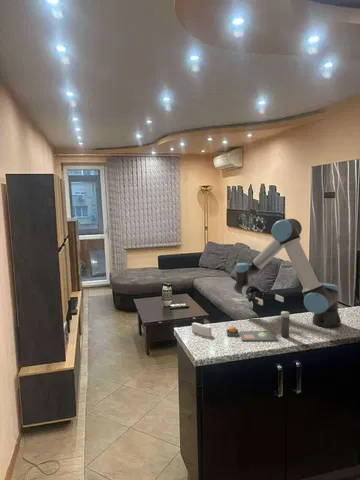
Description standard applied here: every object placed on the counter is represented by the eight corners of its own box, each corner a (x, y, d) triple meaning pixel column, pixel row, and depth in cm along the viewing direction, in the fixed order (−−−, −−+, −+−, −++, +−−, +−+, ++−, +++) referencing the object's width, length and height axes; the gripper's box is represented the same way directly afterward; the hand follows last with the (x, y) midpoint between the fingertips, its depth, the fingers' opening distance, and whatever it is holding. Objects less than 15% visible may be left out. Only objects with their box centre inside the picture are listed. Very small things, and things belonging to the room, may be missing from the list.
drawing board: (273, 332, 191) (273, 330, 191) (278, 341, 179) (278, 339, 179) (239, 332, 192) (239, 330, 192) (242, 341, 180) (242, 339, 180)
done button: (235, 331, 192) (235, 326, 192) (236, 333, 188) (236, 329, 188) (228, 331, 192) (228, 326, 192) (229, 333, 188) (229, 329, 188)
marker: (288, 334, 187) (288, 311, 185) (290, 338, 183) (290, 313, 181) (280, 335, 187) (280, 311, 186) (282, 338, 183) (282, 313, 181)
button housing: (237, 331, 193) (237, 329, 193) (238, 336, 187) (238, 333, 187) (226, 332, 193) (226, 329, 193) (227, 336, 187) (227, 333, 187)
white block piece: (216, 337, 187) (216, 327, 187) (197, 340, 184) (196, 330, 183) (205, 328, 202) (205, 318, 201) (187, 330, 198) (186, 321, 197)
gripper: (268, 295, 217) (291, 305, 197) (232, 300, 208) (253, 311, 188) (268, 283, 216) (291, 292, 196) (232, 288, 207) (253, 297, 187)
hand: (272, 301), depth 192 cm, fingers open, 13 cm apart
